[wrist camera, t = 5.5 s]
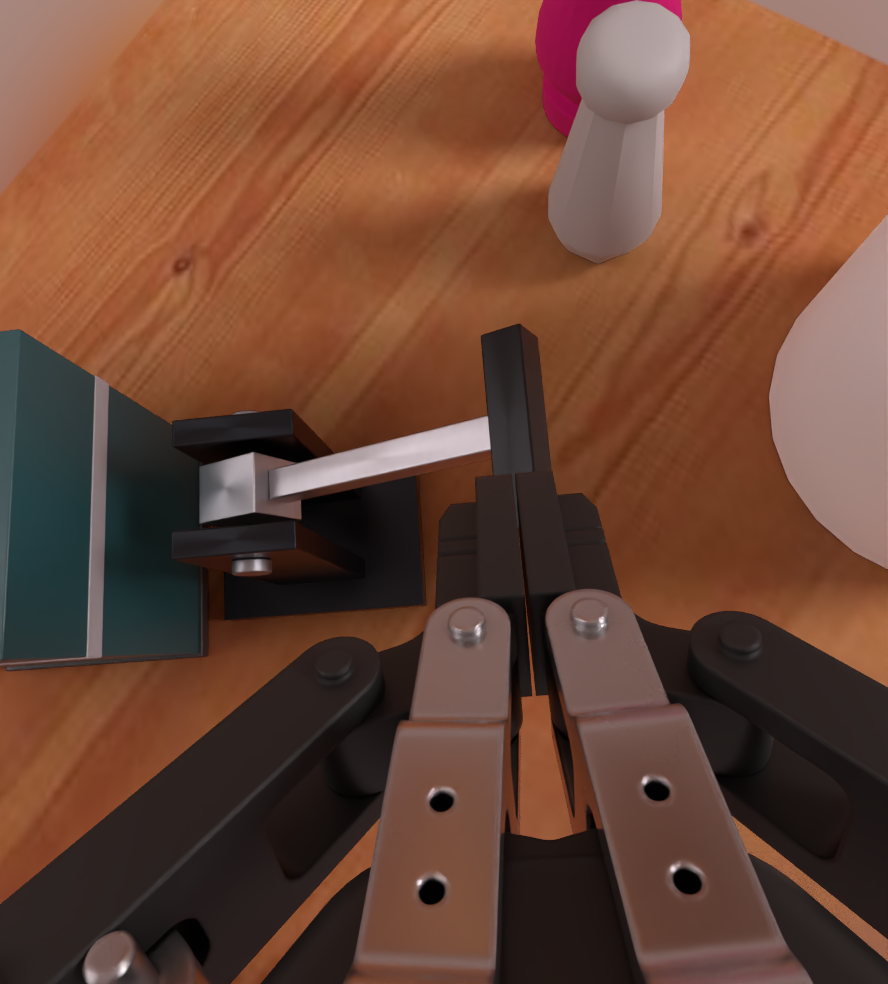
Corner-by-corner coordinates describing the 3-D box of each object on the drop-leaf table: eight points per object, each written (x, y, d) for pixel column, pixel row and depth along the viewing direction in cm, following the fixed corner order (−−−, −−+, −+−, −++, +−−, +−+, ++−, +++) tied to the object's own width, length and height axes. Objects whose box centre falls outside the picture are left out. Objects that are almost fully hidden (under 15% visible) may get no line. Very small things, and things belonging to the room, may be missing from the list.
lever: (545, 342, 23) (511, 315, 21) (565, 531, 21) (531, 523, 19) (246, 430, 29) (198, 416, 27) (249, 579, 28) (198, 577, 26)
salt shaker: (664, 193, 40) (734, -17, 27) (640, 287, 39) (701, 116, 26) (559, 173, 40) (579, -41, 28) (533, 264, 40) (541, 87, 27)
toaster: (207, 441, 39) (22, 320, 25) (208, 656, 37) (4, 666, 22) (26, 458, 40) (-260, 352, 25) (15, 670, 38) (-306, 689, 23)
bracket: (416, 451, 38) (368, 359, 26) (427, 605, 36) (380, 587, 24) (231, 469, 39) (97, 388, 26) (233, 620, 37) (90, 610, 25)
